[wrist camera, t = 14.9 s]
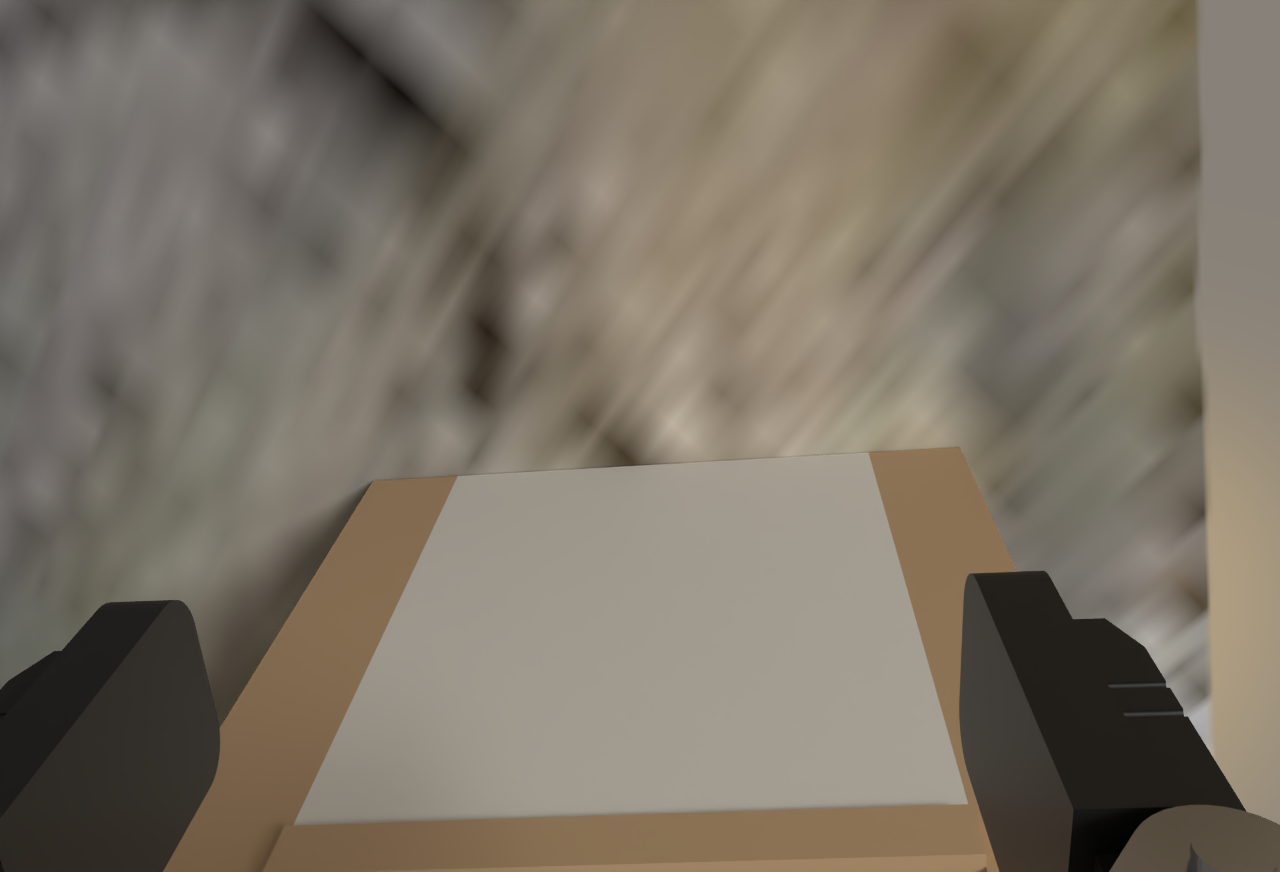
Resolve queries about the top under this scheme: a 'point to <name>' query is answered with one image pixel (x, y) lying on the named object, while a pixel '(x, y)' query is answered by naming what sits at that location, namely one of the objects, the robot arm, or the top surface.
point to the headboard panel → (621, 677)
